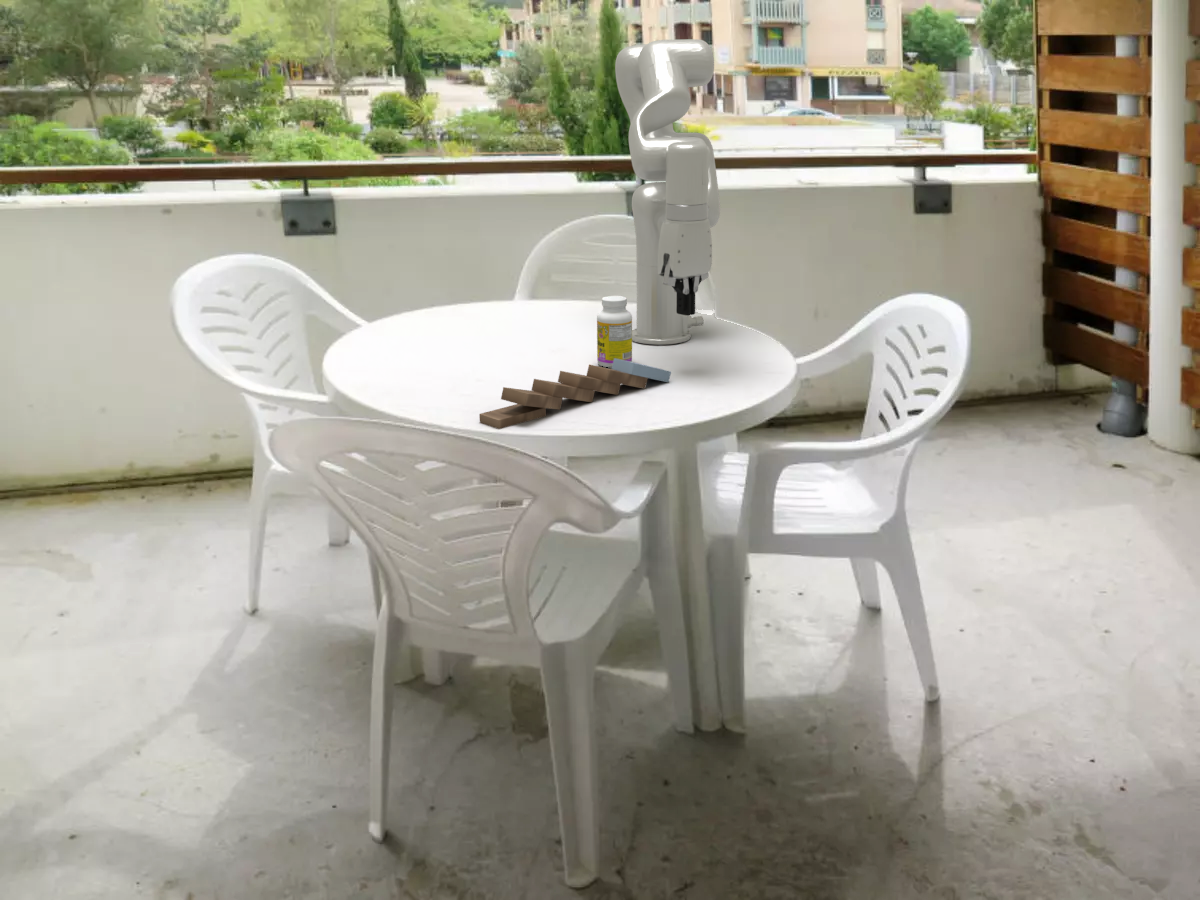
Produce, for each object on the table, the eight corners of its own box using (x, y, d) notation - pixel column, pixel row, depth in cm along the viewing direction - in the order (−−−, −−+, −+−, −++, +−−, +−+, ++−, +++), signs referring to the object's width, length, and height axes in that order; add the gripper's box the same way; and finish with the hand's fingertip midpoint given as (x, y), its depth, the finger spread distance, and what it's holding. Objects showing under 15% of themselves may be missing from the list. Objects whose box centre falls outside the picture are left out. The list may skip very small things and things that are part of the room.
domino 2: (539, 391, 220) (503, 387, 211) (562, 397, 217) (527, 393, 209) (536, 403, 220) (500, 399, 212) (560, 409, 217) (524, 405, 209)
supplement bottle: (595, 360, 250) (595, 295, 246) (630, 359, 250) (629, 293, 246) (599, 369, 243) (598, 302, 239) (634, 368, 244) (633, 301, 240)
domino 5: (628, 372, 234) (589, 364, 227) (647, 377, 230) (608, 369, 223) (625, 383, 234) (586, 375, 227) (645, 388, 230) (605, 381, 223)
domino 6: (651, 366, 237) (614, 358, 230) (671, 371, 234) (634, 363, 227) (648, 377, 238) (611, 369, 230) (668, 382, 234) (631, 374, 227)
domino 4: (601, 378, 230) (560, 370, 223) (620, 383, 226) (579, 376, 220) (599, 389, 230) (557, 382, 223) (618, 395, 227) (576, 387, 220)
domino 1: (526, 401, 218) (479, 413, 212) (545, 407, 215) (498, 420, 208) (526, 413, 219) (479, 425, 212) (546, 419, 215) (499, 432, 209)
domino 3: (574, 385, 226) (533, 378, 218) (594, 390, 222) (554, 384, 215) (571, 396, 226) (531, 390, 218) (592, 402, 223) (551, 396, 215)
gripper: (700, 206, 239) (698, 305, 244) (642, 215, 229) (642, 317, 235) (730, 210, 233) (728, 310, 239) (672, 219, 224) (671, 323, 230)
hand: (685, 313), depth 237 cm, fingers closed
